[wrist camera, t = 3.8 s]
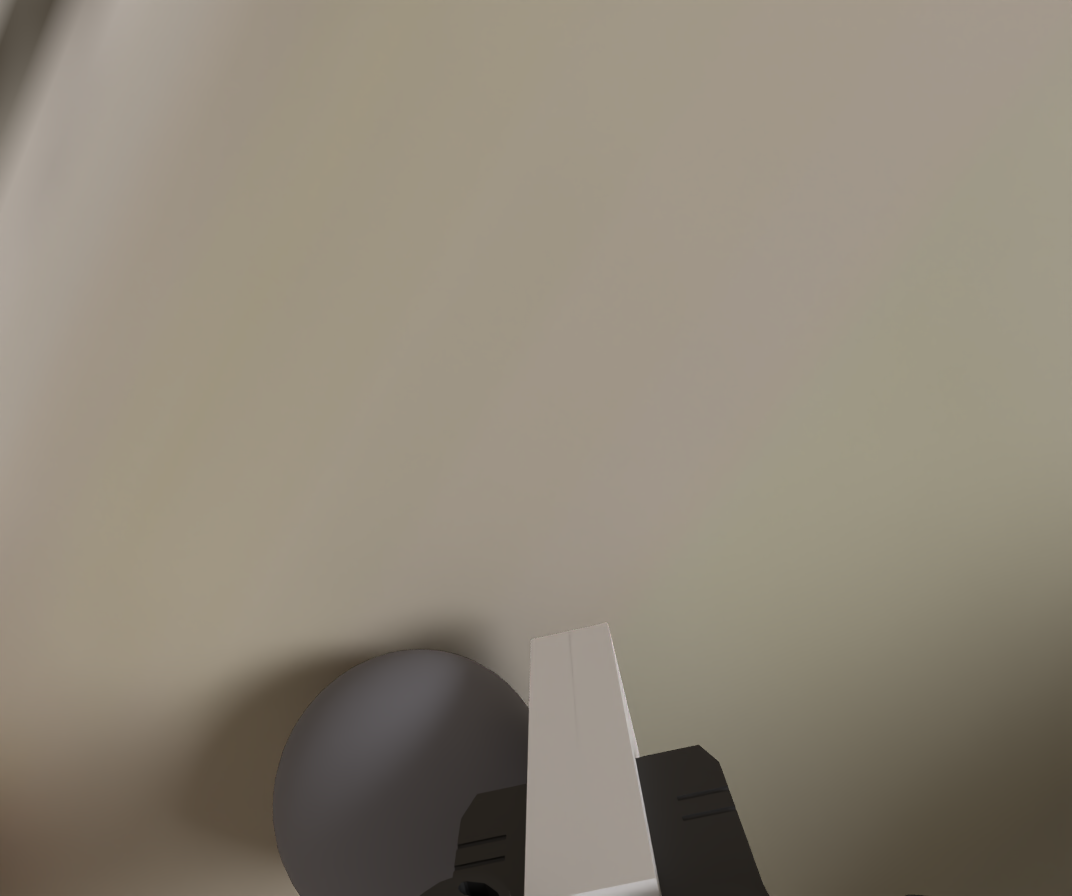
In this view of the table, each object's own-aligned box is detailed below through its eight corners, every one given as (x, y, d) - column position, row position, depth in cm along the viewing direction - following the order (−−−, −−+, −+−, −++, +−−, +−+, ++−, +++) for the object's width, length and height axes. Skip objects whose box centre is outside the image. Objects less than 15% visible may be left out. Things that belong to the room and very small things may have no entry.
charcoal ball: (519, 582, 18) (493, 708, 13) (583, 794, 19) (585, 993, 14) (291, 639, 19) (176, 782, 13) (365, 842, 20) (285, 1051, 14)
